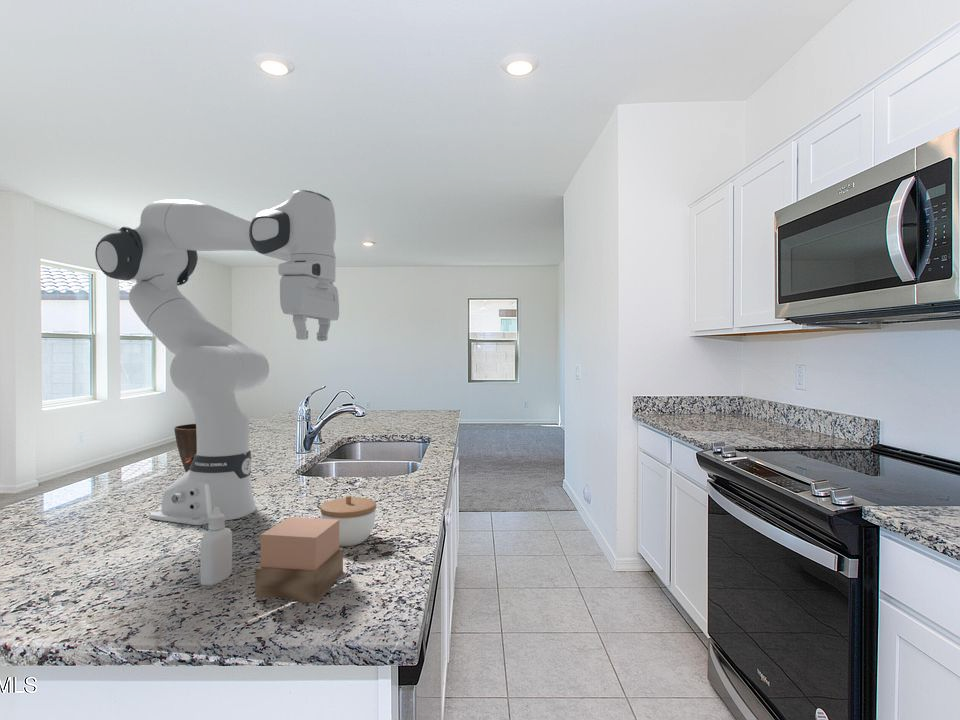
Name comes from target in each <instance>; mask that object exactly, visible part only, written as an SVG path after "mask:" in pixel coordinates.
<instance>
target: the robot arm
mask: <svg viewBox="0 0 960 720" xmlns="http://www.w3.org/2000/svg"><path fill="white" fill-rule="evenodd" d="M336 225H337V223H336V213H335V208H334V203H333V201H332V199H330V198H329V197H327V195H324V194H321V193H319V192H317V191H316V192H315V191H313V190H307V189H298V190H295V191H293V193H292V194H291V195H290V197H289V198H288V199H287V200H286V201H284V202H282V203H281V204H279V205H276V206H274V207H272V208H270V209H264V210H263V209H262V210H261V211H259V212H258V213H257V214H255V215H254V217H252V219H251V221H250V220H248V219H245V218H243V217H239V216H237V215H235V214H233V213H230V212H227V211H225V210H223V209H220V208H218V207H216V206H213V205H211V204H208V203H204V202H201V201H197V200H191V199H181V198H180V199H178V198H177V199H175V198H174V199H172V198H171V199H162V200H157V201H153V202H151V203H149V204H147V205H146V206H145V207H144V208H143V209H142V211H141V215H140V221H139V226H136V228H131V227H130V226H128V225H125V226H124V225H123V226H122V227H120V228H119V229H118V230H117V231H114V232H110V233H109V234H106V235H104V236H103V237H101V238H100V239H99V241H98V242H97V245H96V247H95V260H96V263H97V266H98V267H99V269H100V271H101V272H102V273H103V274H104V275H105V276H107V277H108V278H111V279H115V280H119V281H120V280H121V281H136V282H135V284H134V285H132V286H131V289H130V290H129V293H128V301H129V304H130V306H131V307H132V309H133V311H134V312H135V314H136V316H137V317H138V318H139V320H140V321H141V322H142V323H143V325H144V326H145V327H146V328H147V329H148V330H149V331H150V332H151V333H152V334H153V335H154V336H155V337H156V338H157V340H158V341H160V342H161V344H163V346H164V347H166V348H167V350H168V351H169V352H170V353H173V354H174V355H175V356H174V357H173V359H172V360H171V363H170V367H169V375H170V379H171V381H172V384H173V385H174V387H176V388H177V389H178V391H180V392H181V393H182V394H184V396H185V397H186V399H187V401H188V402H189V404H190V406H191V409H192V412H193V415H194V420H195V424H196V435H197V454H195V455H193V456H192V457H190V458H186V459H185V460H187V459H189V461H187V462H185V463H190V462H192V463H191V466H190V468H189V469H190V470H189V471H188V472H186V471H185V473H184V474H182V475H181V476H180V477H179V478H177V479H176V480H175V481H174V482H172V483H171V484H170V485H168V486H167V487H166V488H165V490H164V492H163V494H162V499H161V506H159V507H158V508H156V509H154V510H152V511H151V512H150V513H149V519H150V520H157V521H165V522H170V523H178V524H185V525H193V526H202V525H207V524H208V525H209V516H211V515H212V514H213V512H214V508H215V507H219V510H220V513H221V514H224V515H225V521H231V520H236V519H240V518H242V517H245V516H248V515H251V514H252V513H254V512H255V511H256V510H257V505H256V502H255V499H254V494H253V493H254V492H253V489H252V482H251V481H252V480H251V472H252V451H251V450H250V420H249V419H250V418H249V417H248V415H247V414H246V413H244V412H243V411H242V410H241V409H240V406H239V405H238V402H237V399H236V394H235V393H238V392H239V393H240V392H248V391H250V390H253V389H255V388H257V387H259V386H261V385H263V384H264V383H265V382H266V380H267V378H268V377H269V374H270V365H269V361H268V359H267V357H266V356H265V354H264V353H262V352H260V351H258V350H256V349H254V348H252V347H251V346H250V347H249V346H248V345H247V344H244V343H243V342H242V341H240V340H238V339H237V338H236V337H234V336H232V335H231V334H229V333H228V332H226V331H225V330H224V329H222V328H220V327H219V326H217V325H216V324H215V323H213V322H212V321H211V320H210V319H208V318H207V317H206V316H205V314H203V313H202V312H201V311H200V310H199V309H198V308H197V307H196V306H195V304H193V303H192V302H191V301H190V300H189V299H188V298H187V297H186V296H185V295H183V293H182V292H181V291H180V290H179V287H178V286H182V285H184V284H187V282H188V281H189V278H190V276H191V275H192V274H193V273H194V271H195V269H196V267H197V264H198V260H199V259H198V252H212V251H213V252H215V251H227V252H228V251H229V252H230V251H247V252H248V251H249V252H250V251H251V252H257V253H259V254H261V255H264V256H266V257H269V258H273V259H277V260H280V261H284V262H282V263H279V264H278V268H277V269H278V270H277V271H278V275H279V276H281V277H280V280H279V301H280V304H279V305H280V308H281V311H282V313H283V314H284V315H290V316H292V322H293V325H294V328H295V332H296V339H297V340H301V341H302V340H303V341H307V340H308V339H309V330H307V324H306V322H307V319H314V320H318V322H317V323H318V325H319V326H318V327H319V328H318V332H316V340H317V341H318V342H327V341H328V339H329V338H328V337H329V334H328V333H329V331H330V327H331V322H333V321H338V320H339V317H340V302H339V292H338V288H337V287H336V286H335V284H334V283H335V282H336V253H335V250H334V248H335V247H334V245H335V243H336V242H335V241H336V236H337V235H336V230H337V228H336ZM197 251H198V252H197Z"/></svg>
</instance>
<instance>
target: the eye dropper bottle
mask: <svg viewBox="0 0 960 720" xmlns="http://www.w3.org/2000/svg"><path fill="white" fill-rule="evenodd" d="M225 525H226V520H225V515H224V514H221V513H220V510H219V507H215V508H214V512H213V514H212V515H211V516H209V523H208V530H207V531H206V532H205V533H204V534H203V536H202V538H201V540H200V569H199V571H200V572H199V573H200V574H199V575H200V585H201V586H214V585H216V584H219V583H221V582H223V581H224V580H226V579H228V578H229V577H230V576H231V574H232V573H233V533H232V530H231V529H230V528H229V527H226V526H225Z"/></svg>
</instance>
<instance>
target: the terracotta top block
mask: <svg viewBox="0 0 960 720" xmlns="http://www.w3.org/2000/svg"><path fill="white" fill-rule="evenodd" d="M259 545H260V550H259V551H260V559H259V560H260V564H259V565H260V567H270V568H285V569H301V570H317V569H318V568H319V567H320V566H321V565H322V564H323V563H325V562H326V561H327V560H328V559H329V558H330V557H331V556H332V555H333V554H334V553H335V552H337V551H338V550H339V548H340V546H339V520H337V519H321V518H317V517H315V518H313V517H296V516H288V517H287V518H285V519H284V520H282V521H280V522H279V523H277V524H276V525H275V524H274V526H272V527H270V528H269V529H267V530H265V531H263V533H261V534H260V544H259Z"/></svg>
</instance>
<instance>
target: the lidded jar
mask: <svg viewBox="0 0 960 720" xmlns="http://www.w3.org/2000/svg"><path fill="white" fill-rule="evenodd" d="M376 508H377V502H376V501H375V500H373V499H370V498H367V497H357V496H353V497H352V495H345V497H342V498H341V497H339V498H335V499H331V500H327V501H325V502H324V503H322V504H321V505H320V519H337V520H339V547H353V546H357V545H360V544H362V543H364V542H365V541H366V540H367V539H368V538H369V537H370V536H371V533H372V532H373V529H374V527H375V523H376V522H375V520H376Z"/></svg>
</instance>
